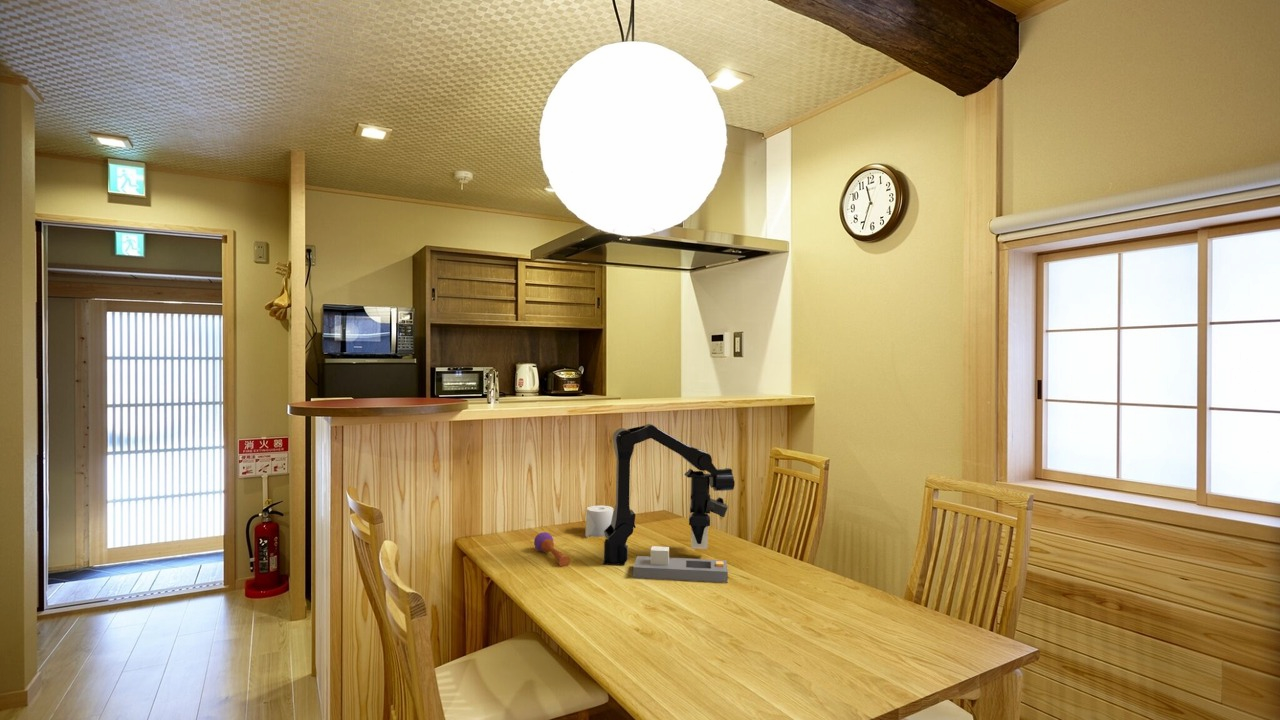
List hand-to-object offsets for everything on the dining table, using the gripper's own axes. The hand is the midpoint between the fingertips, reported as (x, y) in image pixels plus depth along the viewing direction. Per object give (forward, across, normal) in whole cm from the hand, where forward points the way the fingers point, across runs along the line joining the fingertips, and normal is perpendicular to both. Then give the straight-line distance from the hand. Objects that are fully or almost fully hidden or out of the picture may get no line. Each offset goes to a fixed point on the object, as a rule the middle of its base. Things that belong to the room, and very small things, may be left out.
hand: (699, 541), depth 192 cm
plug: (+2, 0, 0) cm, 2 cm away
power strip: (+5, -16, +5) cm, 17 cm away
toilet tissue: (+5, +21, +35) cm, 42 cm away
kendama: (+5, -6, +45) cm, 46 cm away
